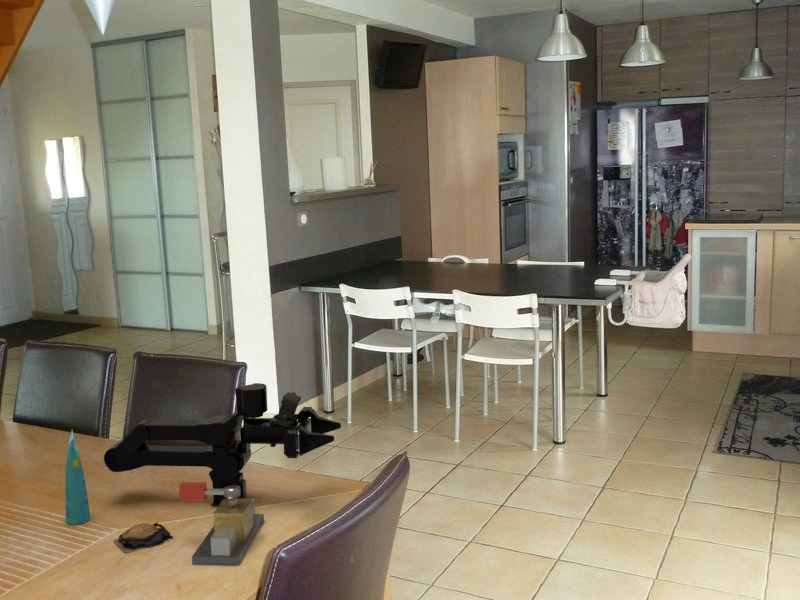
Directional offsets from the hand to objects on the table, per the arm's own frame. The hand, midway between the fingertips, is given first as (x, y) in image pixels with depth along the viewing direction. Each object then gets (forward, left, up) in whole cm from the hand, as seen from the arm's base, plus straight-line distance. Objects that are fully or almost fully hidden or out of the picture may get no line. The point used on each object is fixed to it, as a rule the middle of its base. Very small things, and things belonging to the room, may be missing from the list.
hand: (337, 431), depth 181 cm
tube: (-55, -11, -17) cm, 59 cm away
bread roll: (-37, -20, -17) cm, 46 cm away
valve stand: (-18, -20, -17) cm, 32 cm away
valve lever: (-23, -20, -8) cm, 31 cm away
